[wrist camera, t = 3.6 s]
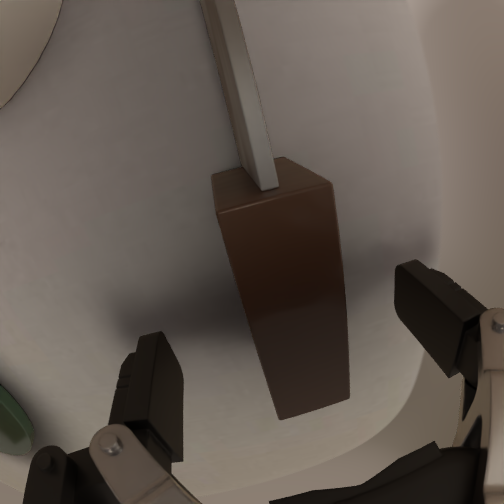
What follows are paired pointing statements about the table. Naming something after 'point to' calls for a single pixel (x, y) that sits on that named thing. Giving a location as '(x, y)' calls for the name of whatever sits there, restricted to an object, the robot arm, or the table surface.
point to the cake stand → (14, 426)
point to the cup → (23, 39)
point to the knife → (279, 243)
